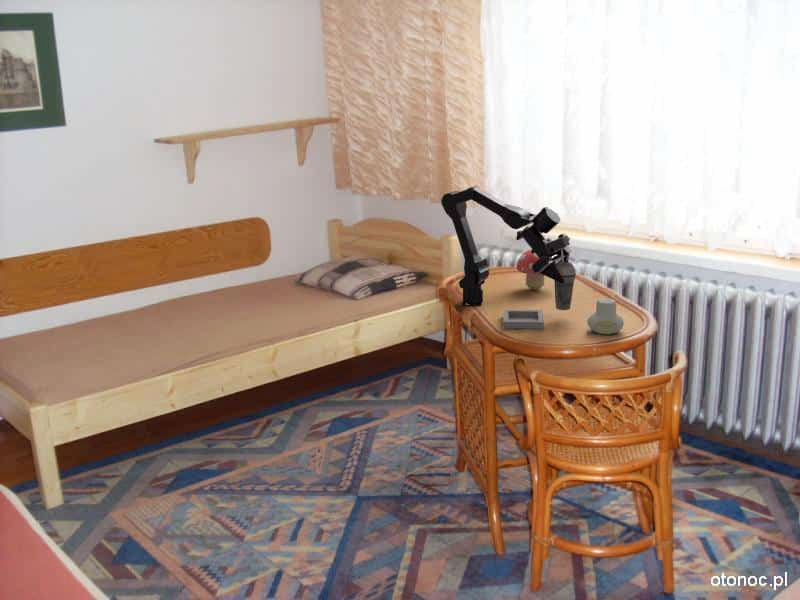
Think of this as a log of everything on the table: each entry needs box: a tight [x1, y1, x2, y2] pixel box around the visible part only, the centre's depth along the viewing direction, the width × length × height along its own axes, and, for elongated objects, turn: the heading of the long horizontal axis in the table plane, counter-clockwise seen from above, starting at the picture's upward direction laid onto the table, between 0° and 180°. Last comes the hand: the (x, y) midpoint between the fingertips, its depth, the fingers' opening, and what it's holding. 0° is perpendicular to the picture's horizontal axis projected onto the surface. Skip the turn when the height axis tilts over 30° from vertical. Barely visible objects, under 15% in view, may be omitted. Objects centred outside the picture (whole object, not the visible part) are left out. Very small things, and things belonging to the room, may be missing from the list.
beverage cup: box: [553, 248, 577, 311], centre depth 281 cm, size 7×7×20 cm
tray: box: [502, 309, 545, 331], centre depth 282 cm, size 13×13×2 cm
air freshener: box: [586, 297, 625, 335], centre depth 271 cm, size 11×8×10 cm
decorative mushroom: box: [516, 248, 545, 291], centre depth 315 cm, size 13×13×15 cm
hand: (568, 280), depth 281 cm, fingers closed on beverage cup, 7 cm apart
